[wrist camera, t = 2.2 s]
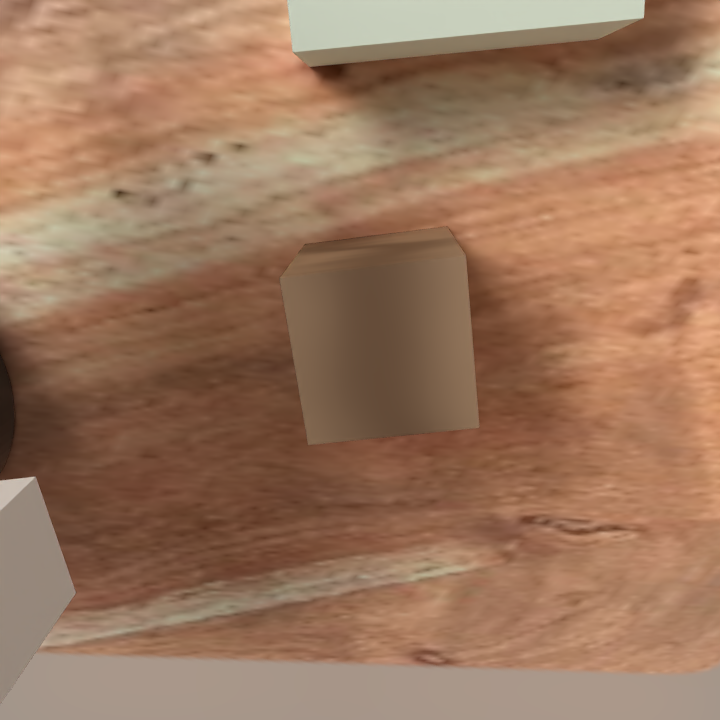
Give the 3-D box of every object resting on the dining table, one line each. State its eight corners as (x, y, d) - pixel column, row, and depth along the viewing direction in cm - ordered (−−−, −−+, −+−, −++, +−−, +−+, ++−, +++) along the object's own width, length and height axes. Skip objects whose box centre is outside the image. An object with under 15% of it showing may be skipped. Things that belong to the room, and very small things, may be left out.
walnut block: (326, 375, 30) (307, 445, 23) (305, 244, 28) (279, 278, 21) (458, 361, 29) (479, 427, 22) (447, 226, 27) (465, 255, 21)
